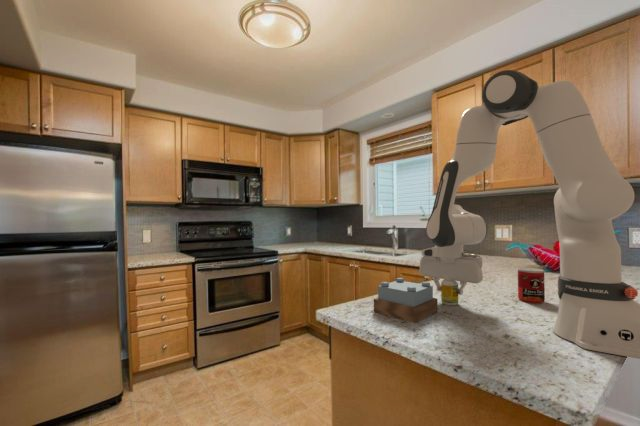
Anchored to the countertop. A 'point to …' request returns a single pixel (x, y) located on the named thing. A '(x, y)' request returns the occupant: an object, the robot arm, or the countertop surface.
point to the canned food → (531, 285)
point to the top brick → (405, 292)
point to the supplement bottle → (449, 291)
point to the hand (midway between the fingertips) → (449, 292)
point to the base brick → (406, 309)
